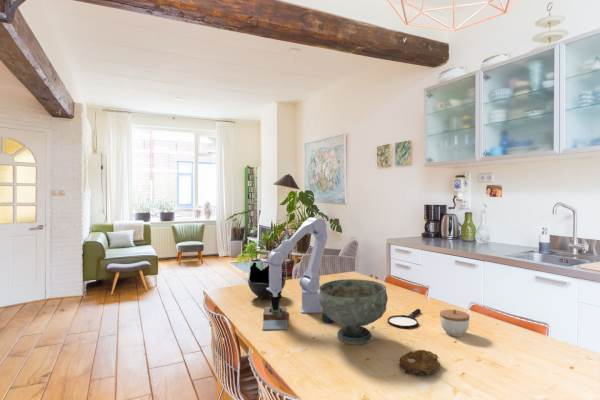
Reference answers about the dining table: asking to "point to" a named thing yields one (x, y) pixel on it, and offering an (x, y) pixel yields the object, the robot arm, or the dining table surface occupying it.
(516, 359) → the dining table surface
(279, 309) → the teal block
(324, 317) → the watch
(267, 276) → the coal bowl
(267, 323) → the rubber mat
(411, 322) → the magnifying glass
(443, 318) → the lidded jar
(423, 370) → the decorative rock
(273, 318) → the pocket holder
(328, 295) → the decorative bowl
